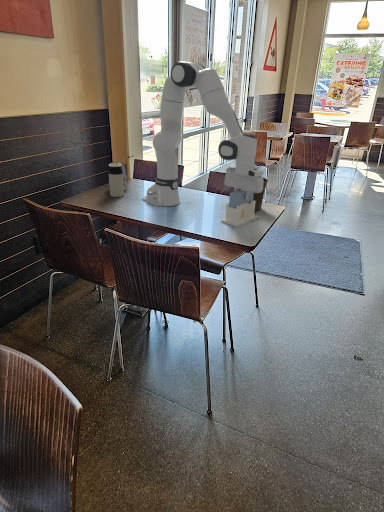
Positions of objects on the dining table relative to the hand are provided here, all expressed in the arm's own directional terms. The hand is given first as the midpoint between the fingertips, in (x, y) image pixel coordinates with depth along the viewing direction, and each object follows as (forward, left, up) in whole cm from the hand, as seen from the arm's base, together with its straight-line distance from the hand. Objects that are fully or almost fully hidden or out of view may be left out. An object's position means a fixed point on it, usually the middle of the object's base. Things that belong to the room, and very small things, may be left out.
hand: (241, 198), depth 168 cm
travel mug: (-75, -18, -12) cm, 78 cm away
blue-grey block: (0, 0, -2) cm, 2 cm away
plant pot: (-7, +20, -12) cm, 24 cm away
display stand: (0, 0, -11) cm, 11 cm away
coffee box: (-85, -8, -12) cm, 86 cm away
